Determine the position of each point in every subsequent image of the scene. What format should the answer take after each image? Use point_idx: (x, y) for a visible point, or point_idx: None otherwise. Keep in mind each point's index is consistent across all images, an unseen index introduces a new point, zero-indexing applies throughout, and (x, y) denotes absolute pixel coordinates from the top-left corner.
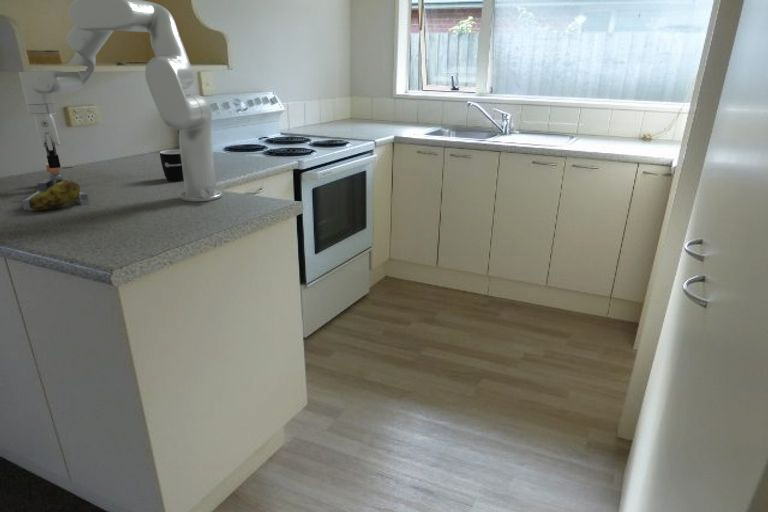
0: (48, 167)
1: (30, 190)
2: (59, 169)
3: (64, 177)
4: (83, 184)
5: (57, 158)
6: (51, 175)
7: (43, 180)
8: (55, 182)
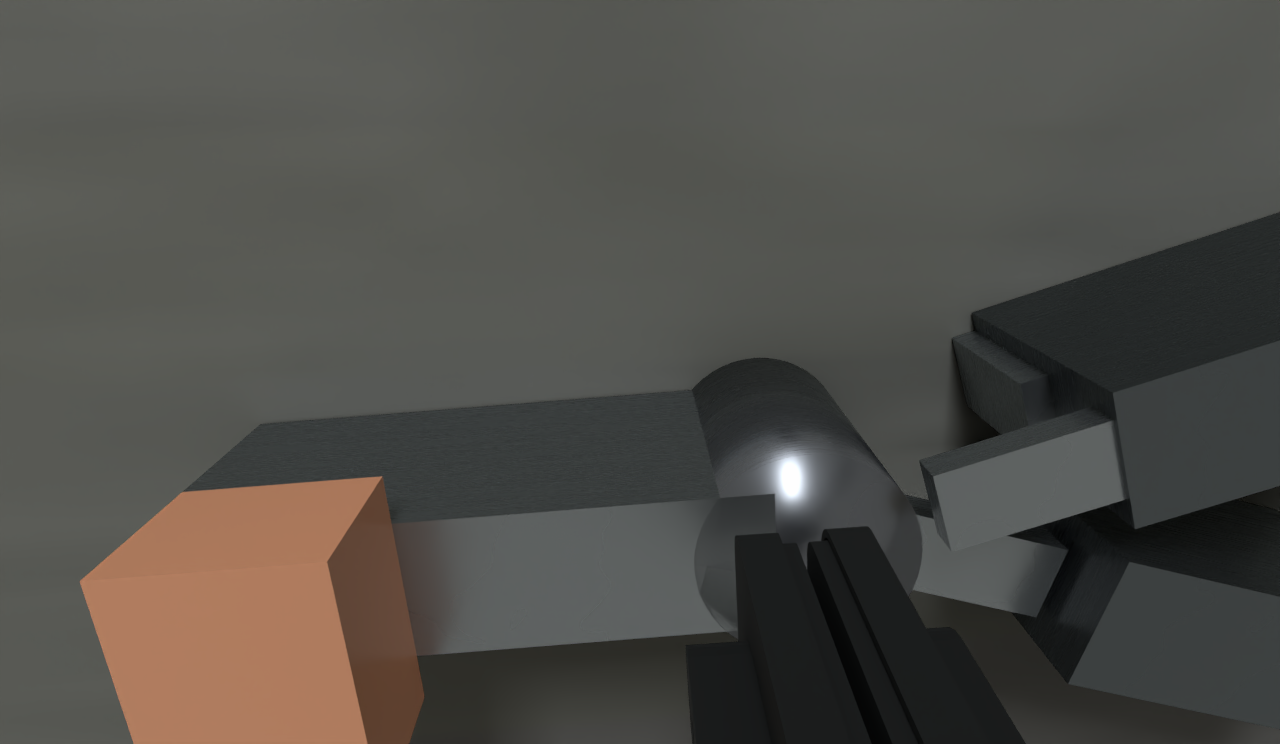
0: (396, 735)
1: (617, 738)
2: (376, 517)
3: (1174, 385)
4: (475, 76)
5: (956, 715)
6: None
7: (1241, 698)
8: None
